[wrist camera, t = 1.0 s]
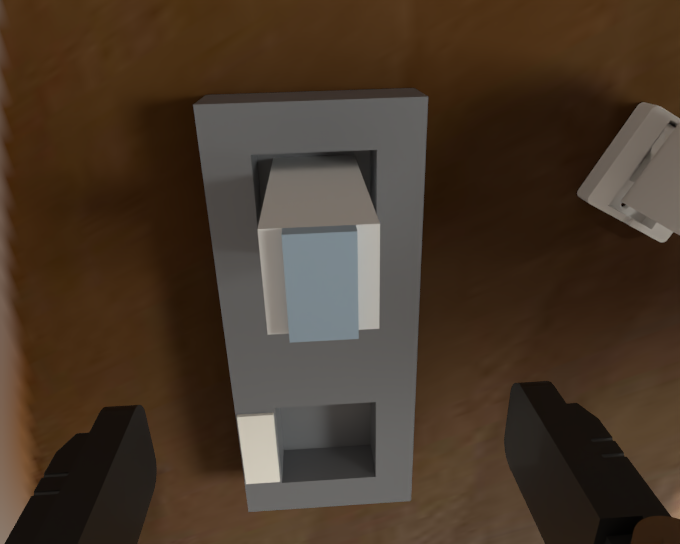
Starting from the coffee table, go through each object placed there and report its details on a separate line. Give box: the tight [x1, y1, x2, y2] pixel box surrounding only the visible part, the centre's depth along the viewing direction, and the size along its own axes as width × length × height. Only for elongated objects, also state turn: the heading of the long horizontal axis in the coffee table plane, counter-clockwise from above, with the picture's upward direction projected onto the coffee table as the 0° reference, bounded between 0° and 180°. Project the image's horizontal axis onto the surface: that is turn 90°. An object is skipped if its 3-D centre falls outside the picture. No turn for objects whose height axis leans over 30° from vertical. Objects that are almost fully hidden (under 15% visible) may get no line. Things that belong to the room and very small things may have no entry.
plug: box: [257, 155, 380, 343], centre depth 23 cm, size 4×4×11 cm
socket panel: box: [193, 88, 428, 512], centre depth 29 cm, size 10×24×4 cm, turn 1°
